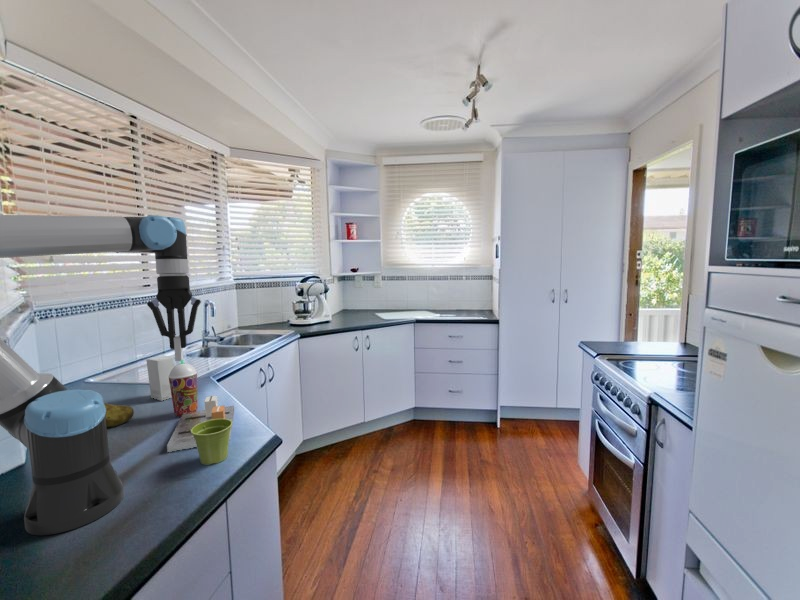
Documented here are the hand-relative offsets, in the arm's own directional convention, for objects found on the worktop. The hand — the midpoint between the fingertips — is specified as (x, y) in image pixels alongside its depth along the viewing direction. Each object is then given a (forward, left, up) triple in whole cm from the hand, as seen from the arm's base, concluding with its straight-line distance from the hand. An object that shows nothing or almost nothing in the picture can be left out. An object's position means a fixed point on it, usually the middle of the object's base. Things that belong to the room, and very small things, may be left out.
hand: (179, 359), depth 104 cm
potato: (-24, +21, -23) cm, 40 cm away
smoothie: (-3, +22, -23) cm, 32 cm away
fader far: (+6, +11, -21) cm, 24 cm away
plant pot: (+9, -16, -23) cm, 29 cm away
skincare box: (-14, +45, -23) cm, 53 cm away
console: (+4, +5, -23) cm, 24 cm away
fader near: (+9, 0, -21) cm, 22 cm away
